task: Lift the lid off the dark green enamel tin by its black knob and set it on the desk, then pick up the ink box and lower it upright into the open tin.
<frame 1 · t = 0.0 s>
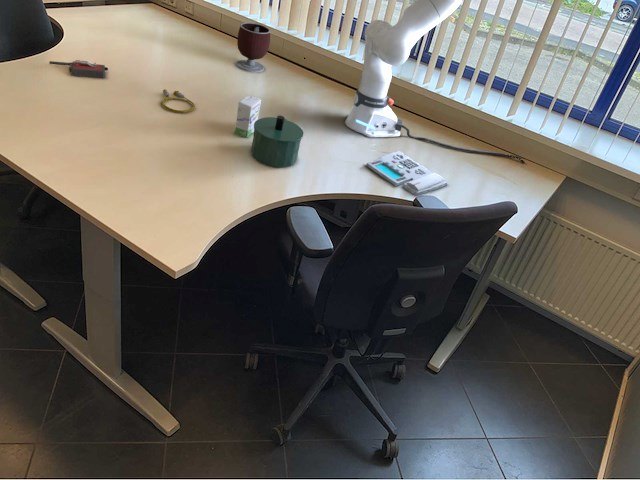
ink box: (245, 132, 193), on the table
mate gourd: (250, 67, 243), on the table
tin lid: (278, 130, 178), point 9 cm above the table, touching tin
tin: (273, 155, 183), on the table
walkie-talkie: (79, 72, 202), on the table
office telephone: (405, 175, 193), on the table
extension cord: (177, 104, 199), on the table
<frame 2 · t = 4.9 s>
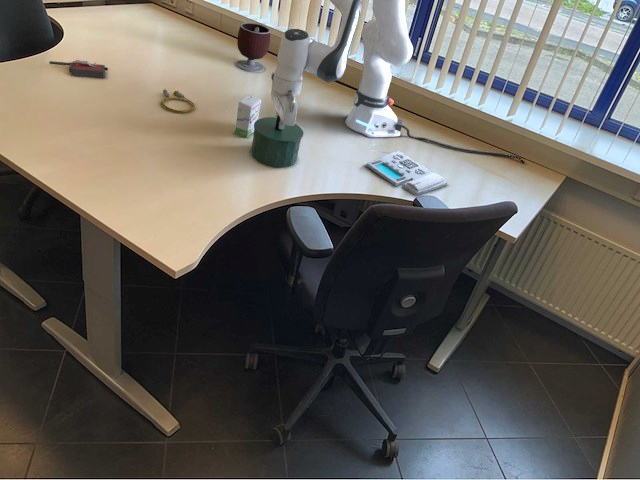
hand: (279, 125, 177), 11 cm above the table, tool pointing down, fingers closed on tin lid, 2 cm apart
tin lid: (278, 130, 178), point 10 cm above the table, touching gripper, tin
everything else where it was.
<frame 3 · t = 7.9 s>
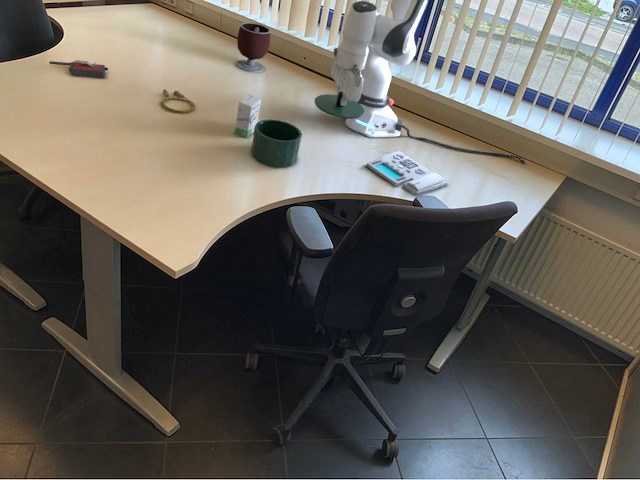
hand: (340, 102, 173), 23 cm above the table, tool pointing down, fingers closed on tin lid, 2 cm apart
tin lid: (339, 107, 174), point 21 cm above the table, touching gripper
everything else where it was.
when the fingers open (2 cm above the table, at t = 11.1 s): tin lid stays where it is, point 1 cm above the table.
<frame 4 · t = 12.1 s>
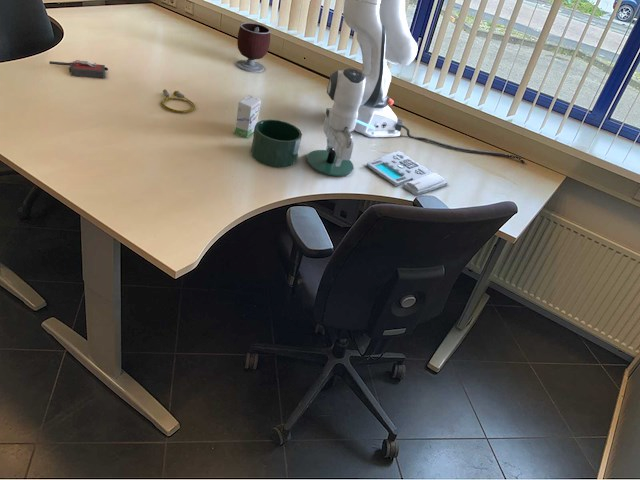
hand: (332, 158, 185), 3 cm above the table, tool pointing down, fingers open, 8 cm apart
tin lid: (329, 163, 186), point 1 cm above the table
everything else where it was.
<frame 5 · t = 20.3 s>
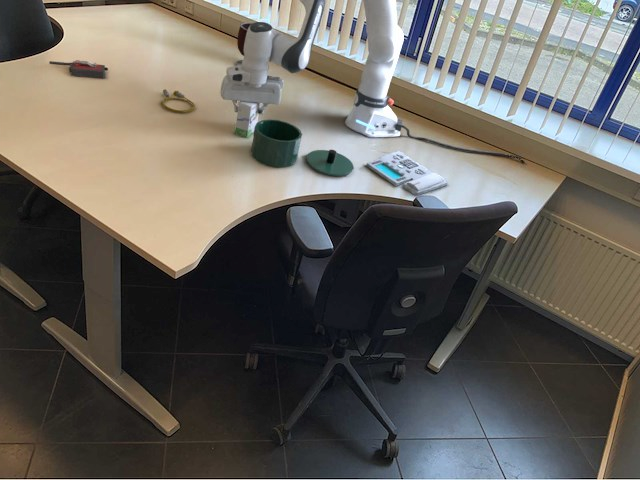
hand: (248, 112, 188), 7 cm above the table, tool pointing down, fingers closed on ink box, 7 cm apart
ink box: (245, 132, 193), on the table, touching gripper
everything else where it was.
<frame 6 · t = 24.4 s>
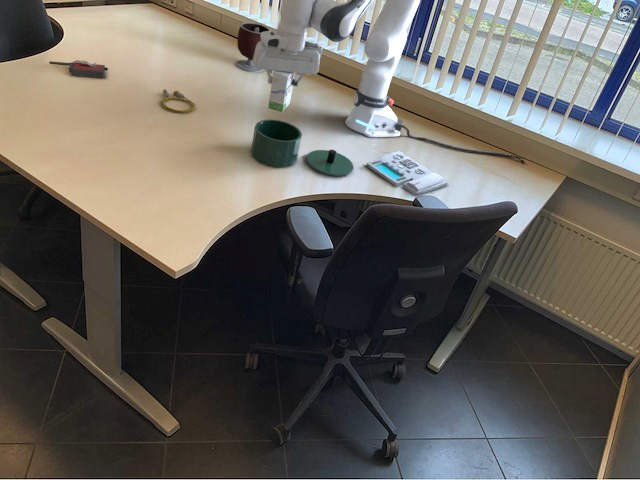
hand: (282, 84, 170), 24 cm above the table, tool pointing down, fingers closed on ink box, 6 cm apart
ink box: (278, 106, 174), point 17 cm above the table, touching gripper
everything else where it was.
when the fingers open (8 cm above the table, at t = 28.7 s): ink box stays where it is, resting on tin.
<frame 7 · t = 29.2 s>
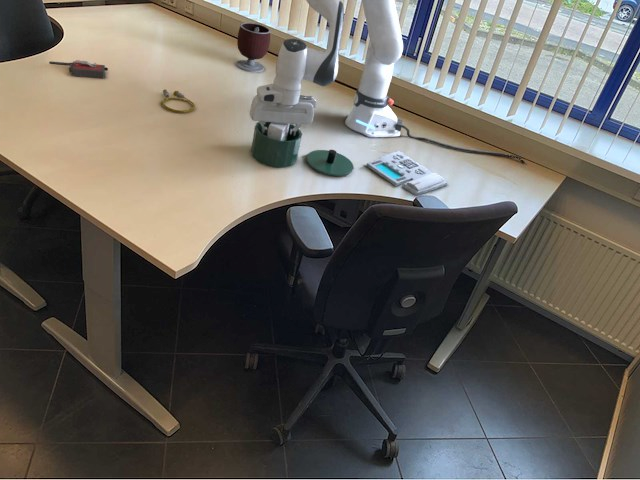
hand: (278, 134, 178), 8 cm above the table, tool pointing down, fingers open, 8 cm apart
ink box: (273, 155, 183), resting on tin
everything else where it was.
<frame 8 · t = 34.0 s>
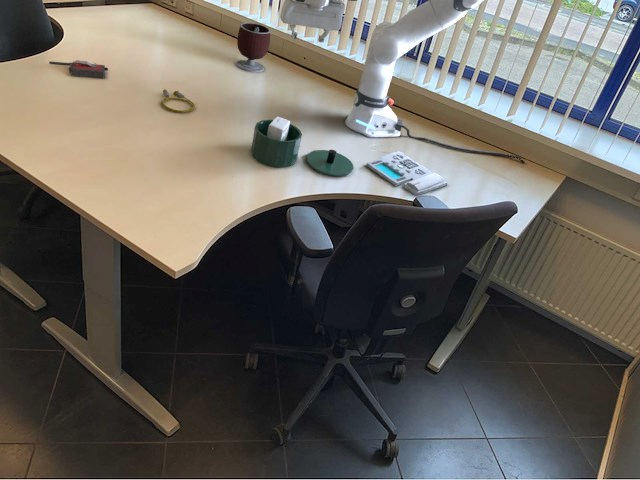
hand: (307, 40, 182), 33 cm above the table, tool pointing down, fingers open, 8 cm apart
nothing on the table moved.
at the end: tin lid inside the target area (0.3 cm from its centre), point 0.6 cm above the table; ink box inside the target area in the tin (0.1 cm from its centre), point 0.3 cm above the tin's base; ink box tilted 0° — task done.
